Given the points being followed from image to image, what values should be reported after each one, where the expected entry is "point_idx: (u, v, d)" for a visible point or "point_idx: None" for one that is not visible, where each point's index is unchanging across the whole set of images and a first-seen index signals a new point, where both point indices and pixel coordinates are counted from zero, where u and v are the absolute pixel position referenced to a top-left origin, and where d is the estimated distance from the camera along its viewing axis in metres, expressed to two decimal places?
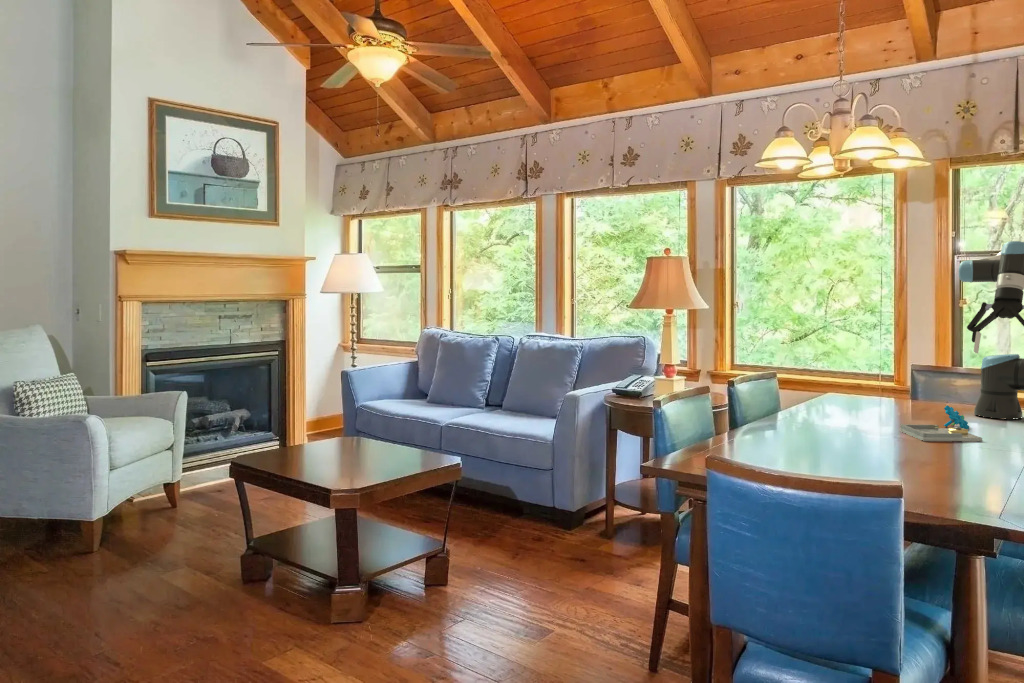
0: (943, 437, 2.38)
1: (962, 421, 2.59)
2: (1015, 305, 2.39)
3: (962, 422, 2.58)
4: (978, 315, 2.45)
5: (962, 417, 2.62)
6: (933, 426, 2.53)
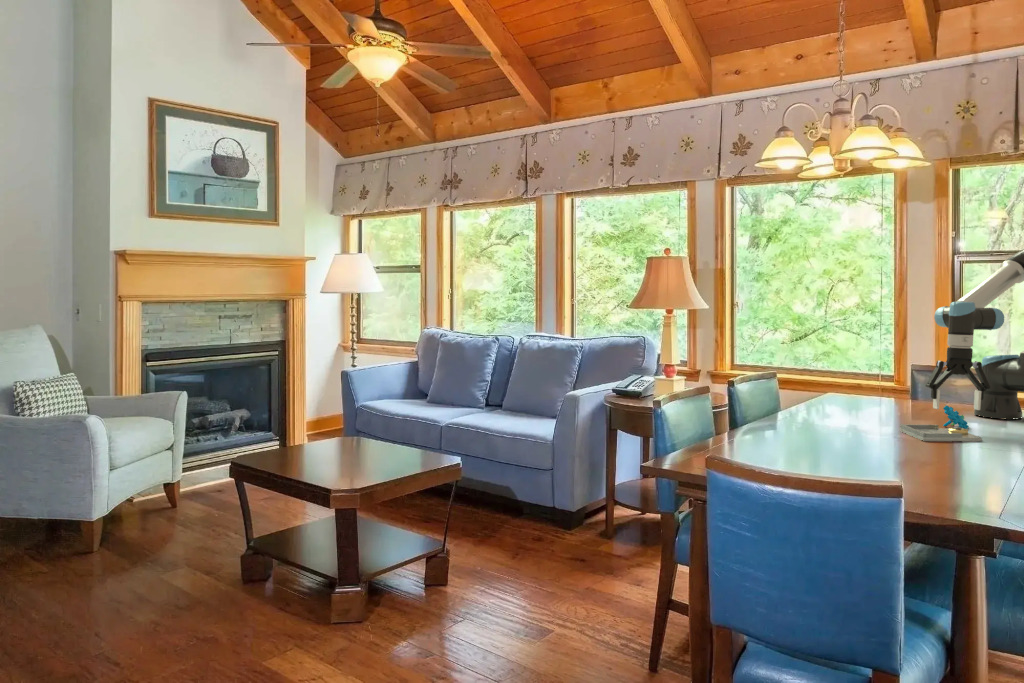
0: (943, 437, 2.38)
1: (961, 421, 2.59)
2: (967, 363, 2.58)
3: (961, 422, 2.58)
4: (938, 374, 2.58)
5: (962, 417, 2.62)
6: (933, 426, 2.53)
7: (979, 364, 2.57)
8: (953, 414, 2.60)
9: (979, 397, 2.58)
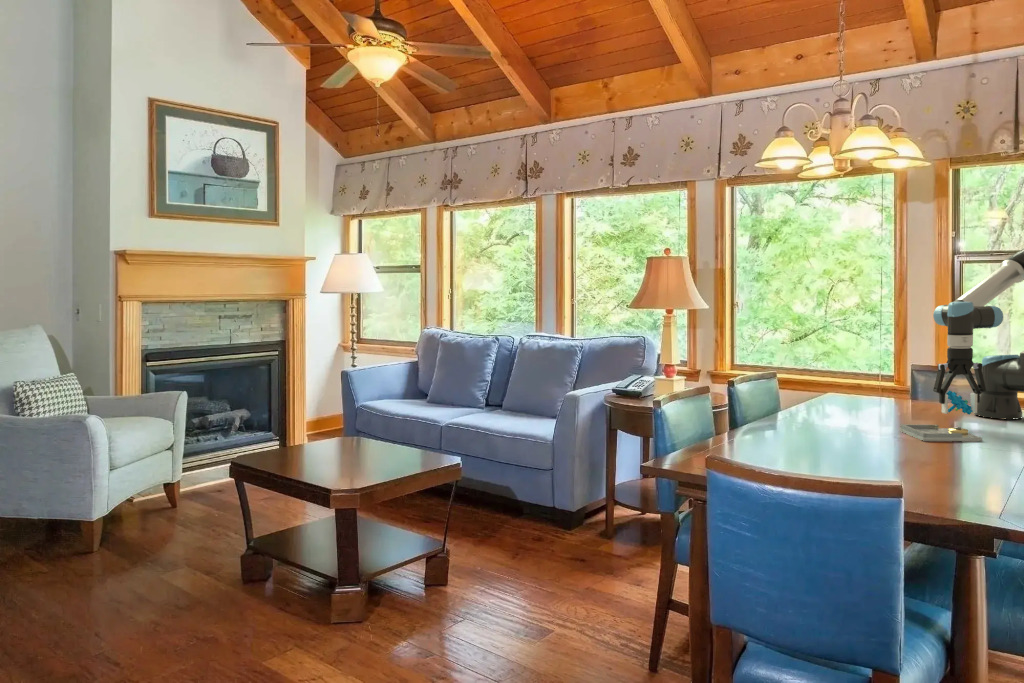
0: (943, 437, 2.38)
1: (965, 406, 2.59)
2: (969, 363, 2.58)
3: (965, 407, 2.58)
4: (942, 378, 2.58)
5: (965, 402, 2.62)
6: (933, 426, 2.53)
7: (980, 365, 2.57)
8: (956, 399, 2.60)
9: (975, 400, 2.58)
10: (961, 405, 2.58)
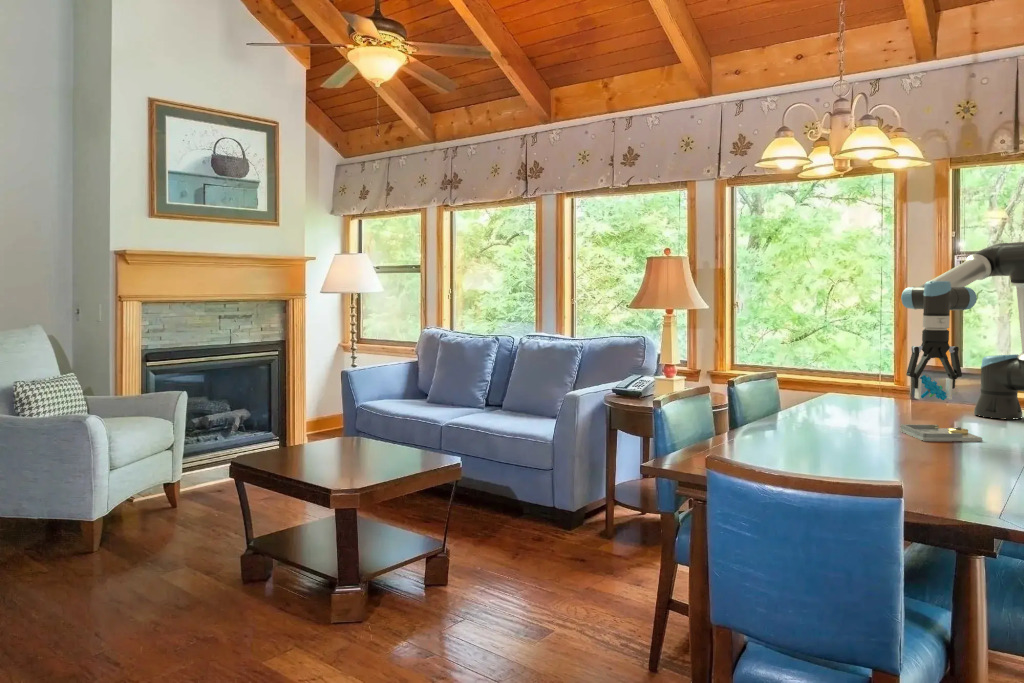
0: (943, 437, 2.38)
1: (939, 391, 2.44)
2: (944, 346, 2.43)
3: (939, 392, 2.44)
4: (916, 361, 2.44)
5: (940, 387, 2.47)
6: (933, 426, 2.53)
7: (956, 349, 2.43)
8: (930, 384, 2.45)
9: (950, 386, 2.44)
10: (935, 390, 2.43)
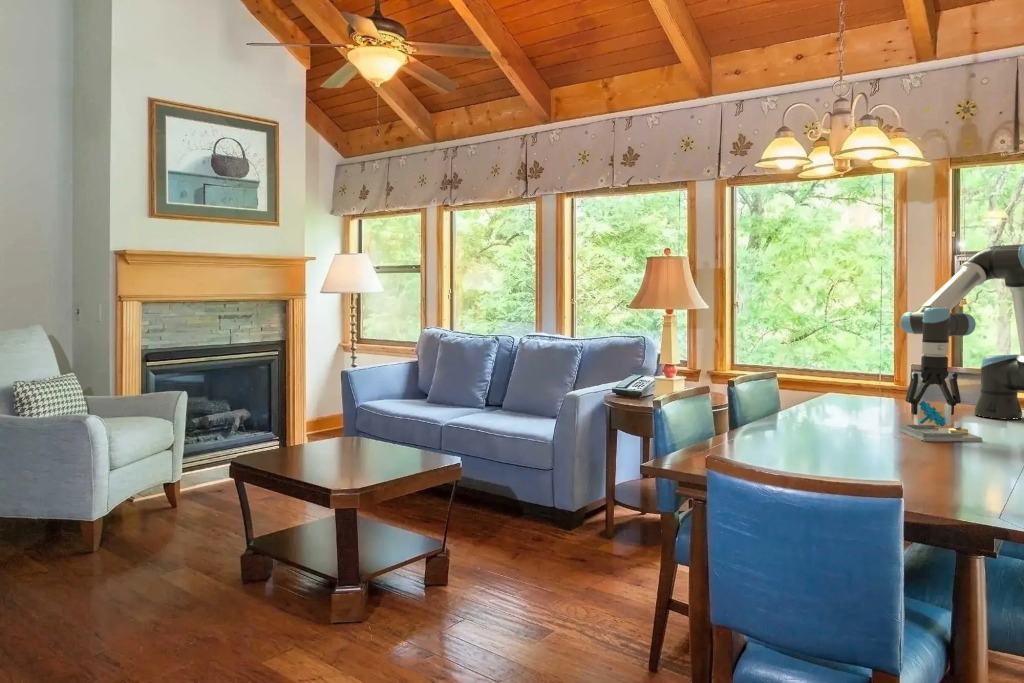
0: (943, 437, 2.38)
1: (938, 417, 2.45)
2: (943, 372, 2.44)
3: (938, 418, 2.44)
4: (915, 387, 2.44)
5: (939, 413, 2.48)
6: (933, 426, 2.53)
7: (955, 375, 2.43)
8: (929, 410, 2.46)
9: (949, 412, 2.44)
10: (934, 416, 2.44)
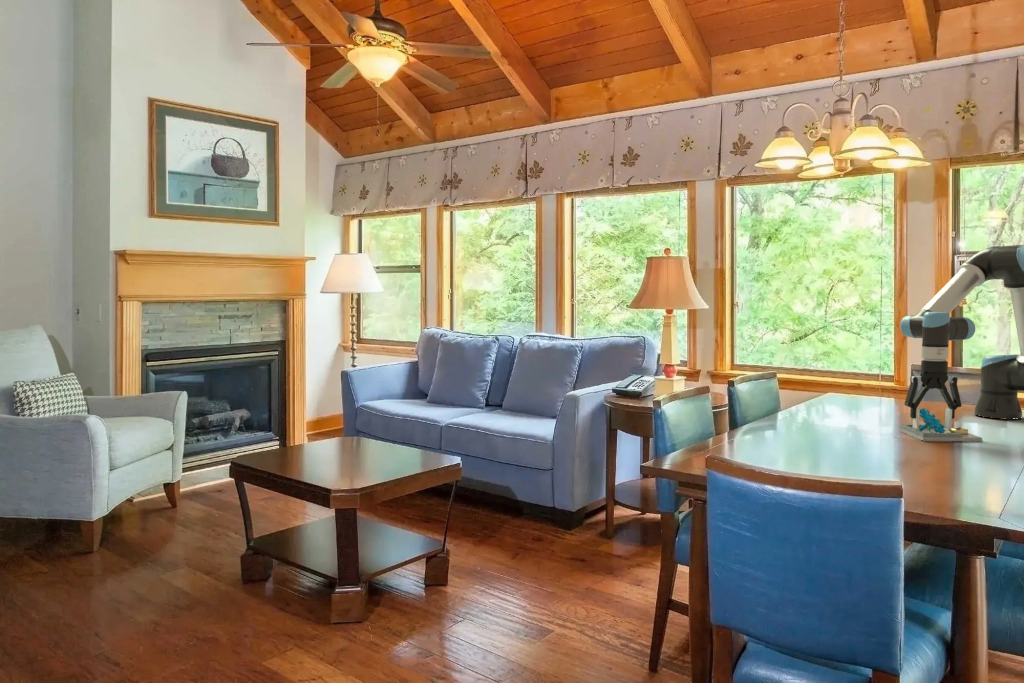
0: (943, 437, 2.38)
1: (938, 425, 2.45)
2: (943, 376, 2.44)
3: (937, 426, 2.45)
4: (914, 391, 2.45)
5: (938, 420, 2.48)
6: None
7: (955, 379, 2.44)
8: (929, 417, 2.46)
9: (950, 416, 2.44)
10: (933, 424, 2.44)
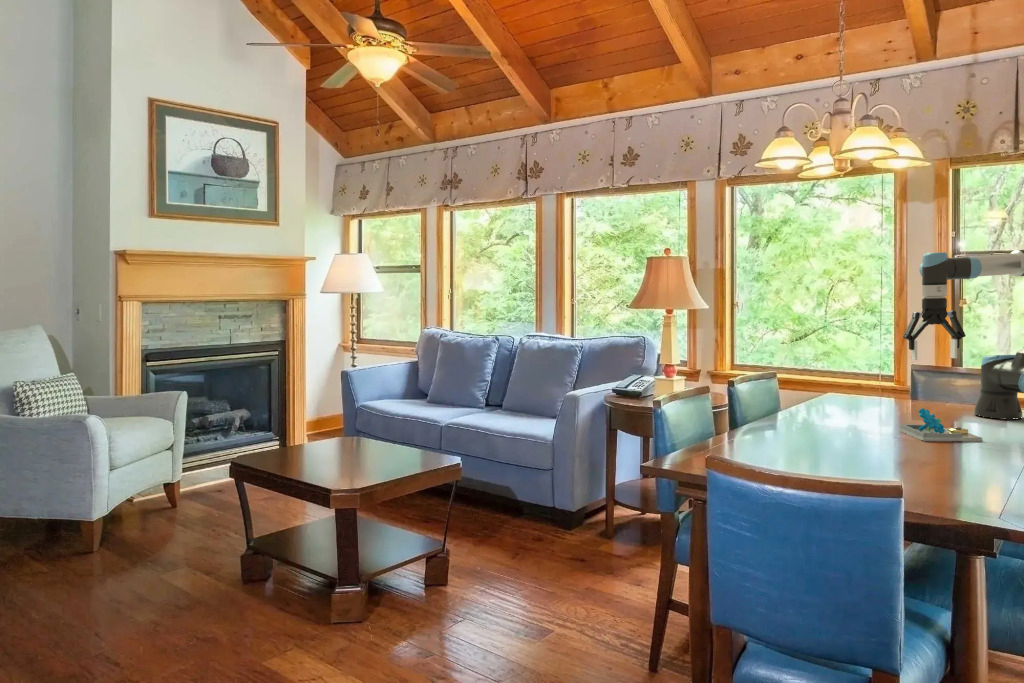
0: (943, 437, 2.38)
1: (937, 425, 2.45)
2: (943, 313, 2.61)
3: (937, 426, 2.45)
4: (914, 325, 2.62)
5: (938, 420, 2.48)
6: None
7: (954, 313, 2.61)
8: (929, 417, 2.46)
9: (955, 345, 2.62)
10: (933, 424, 2.44)
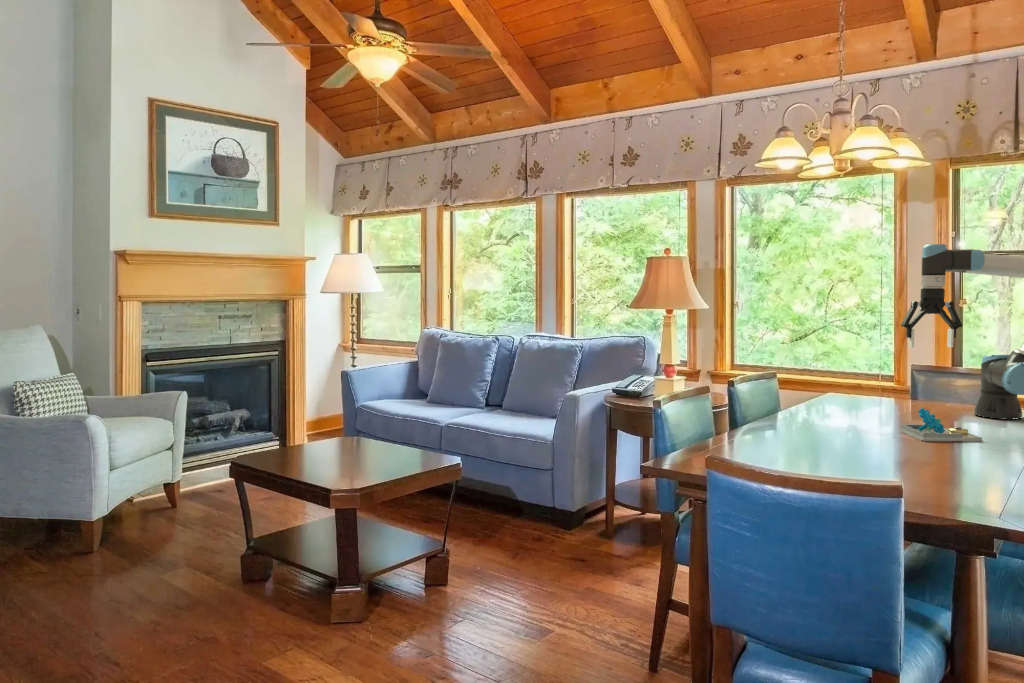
0: (943, 437, 2.38)
1: (937, 425, 2.45)
2: (940, 303, 2.70)
3: (937, 426, 2.45)
4: (912, 314, 2.71)
5: (938, 420, 2.48)
6: None
7: (951, 303, 2.70)
8: (928, 417, 2.46)
9: (952, 335, 2.71)
10: (933, 424, 2.44)
